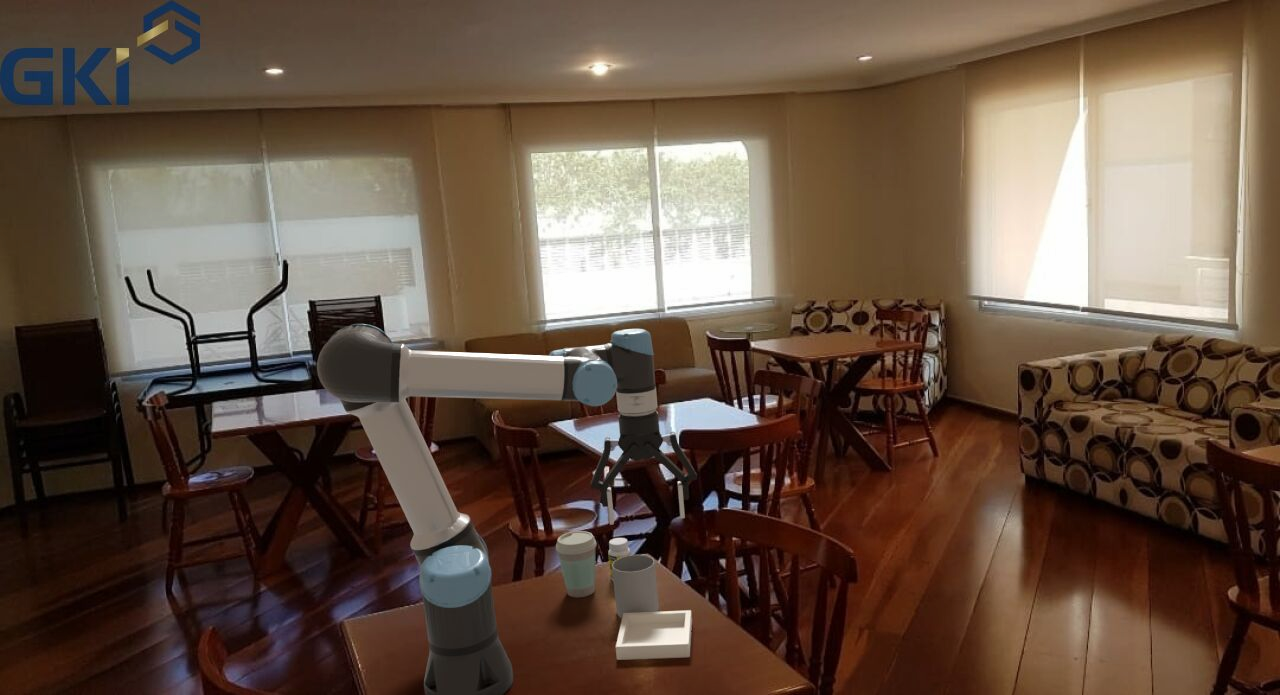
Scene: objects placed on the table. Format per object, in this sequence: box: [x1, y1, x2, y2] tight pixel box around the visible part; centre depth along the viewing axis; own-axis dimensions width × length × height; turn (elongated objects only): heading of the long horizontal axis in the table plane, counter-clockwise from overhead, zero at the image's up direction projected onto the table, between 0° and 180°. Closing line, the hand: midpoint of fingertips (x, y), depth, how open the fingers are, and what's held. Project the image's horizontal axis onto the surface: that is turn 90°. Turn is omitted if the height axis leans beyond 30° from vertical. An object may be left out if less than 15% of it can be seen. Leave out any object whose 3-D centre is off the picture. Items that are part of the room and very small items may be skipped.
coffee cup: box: [555, 530, 598, 598], centre depth 190 cm, size 8×8×12 cm
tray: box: [615, 609, 693, 661], centre depth 167 cm, size 13×13×2 cm
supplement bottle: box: [607, 537, 632, 581], centre depth 195 cm, size 5×5×8 cm
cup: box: [612, 554, 660, 619], centre depth 179 cm, size 8×8×10 cm
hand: (647, 519), depth 174 cm, fingers open, 13 cm apart
